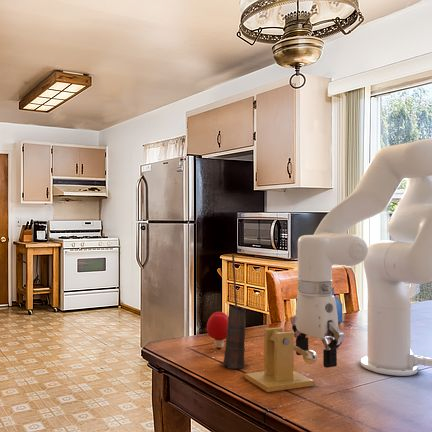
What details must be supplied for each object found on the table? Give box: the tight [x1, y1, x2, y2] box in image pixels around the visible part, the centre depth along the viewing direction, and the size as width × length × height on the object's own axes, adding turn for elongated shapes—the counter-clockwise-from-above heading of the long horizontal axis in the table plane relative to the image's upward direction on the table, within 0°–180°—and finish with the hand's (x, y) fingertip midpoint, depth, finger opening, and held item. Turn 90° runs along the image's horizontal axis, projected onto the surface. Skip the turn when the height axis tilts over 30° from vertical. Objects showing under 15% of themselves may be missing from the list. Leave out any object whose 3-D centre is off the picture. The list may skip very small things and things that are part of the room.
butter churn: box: [223, 254, 247, 370], centre depth 118 cm, size 9×10×28 cm
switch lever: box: [270, 330, 318, 365], centre depth 109 cm, size 13×3×3 cm
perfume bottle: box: [332, 286, 343, 323], centre depth 170 cm, size 6×6×12 cm
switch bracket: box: [244, 326, 314, 393], centre depth 107 cm, size 12×9×12 cm
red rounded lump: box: [206, 311, 228, 350], centre depth 134 cm, size 9×7×10 cm
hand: (315, 360), depth 111 cm, fingers open, 9 cm apart
